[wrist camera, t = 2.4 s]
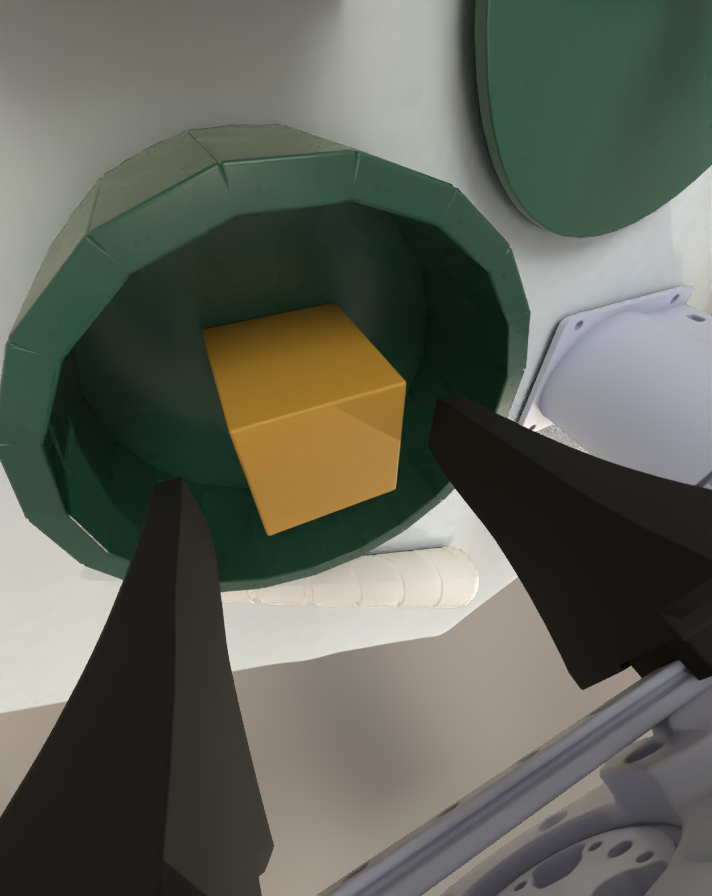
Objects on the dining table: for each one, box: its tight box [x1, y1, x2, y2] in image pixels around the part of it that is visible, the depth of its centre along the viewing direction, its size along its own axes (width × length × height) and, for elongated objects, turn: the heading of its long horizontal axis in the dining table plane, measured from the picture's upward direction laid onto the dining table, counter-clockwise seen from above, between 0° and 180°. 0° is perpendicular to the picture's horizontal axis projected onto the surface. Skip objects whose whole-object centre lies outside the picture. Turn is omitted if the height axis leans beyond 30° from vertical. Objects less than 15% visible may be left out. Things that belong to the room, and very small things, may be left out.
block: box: [201, 303, 406, 536], centre depth 12 cm, size 4×4×5 cm
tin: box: [0, 124, 530, 592], centre depth 12 cm, size 13×13×5 cm
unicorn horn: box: [221, 547, 479, 608], centre depth 24 cm, size 5×24×5 cm, turn 56°
